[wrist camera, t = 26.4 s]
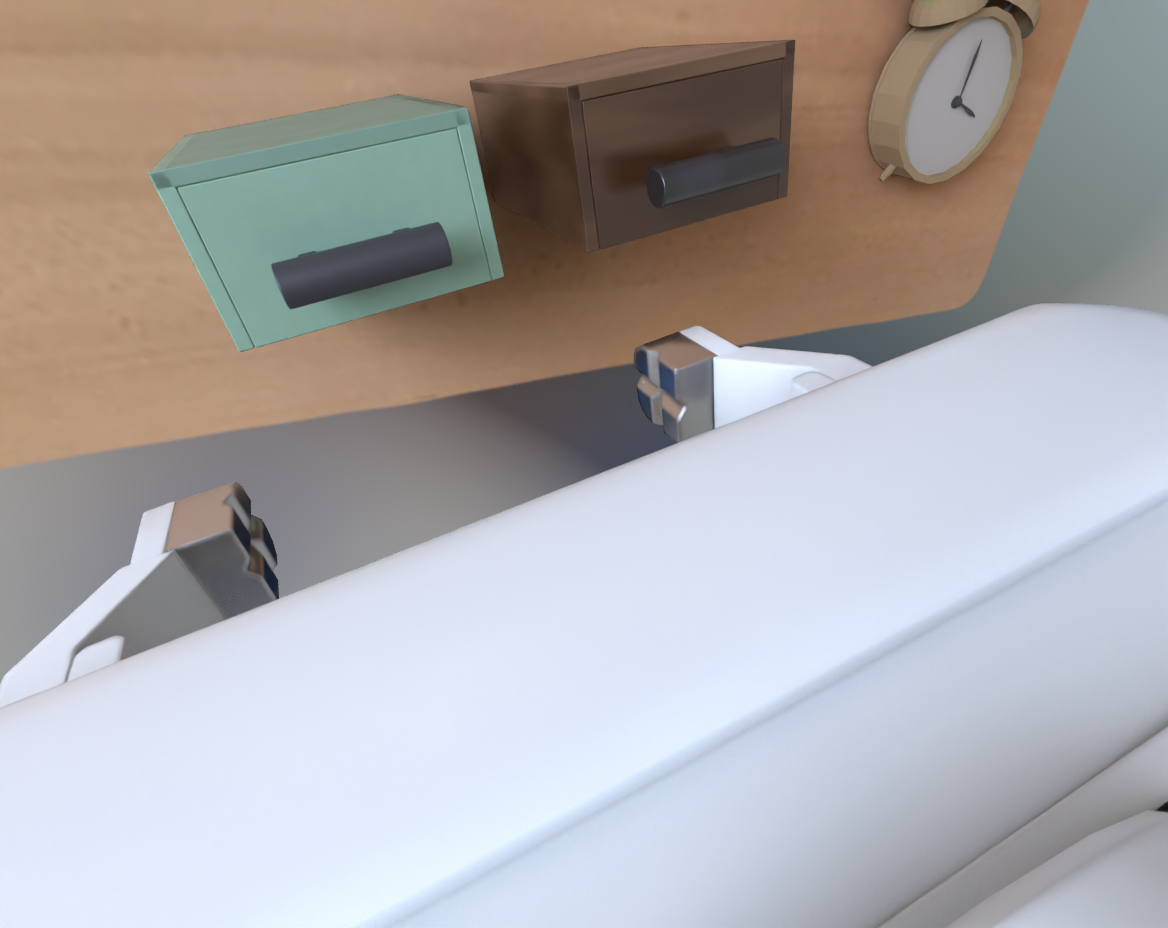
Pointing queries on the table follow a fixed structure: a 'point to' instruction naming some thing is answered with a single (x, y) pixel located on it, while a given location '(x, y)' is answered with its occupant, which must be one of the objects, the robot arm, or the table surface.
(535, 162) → the walnut shelf
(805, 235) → the table surface
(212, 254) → the sage shelf
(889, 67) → the alarm clock
